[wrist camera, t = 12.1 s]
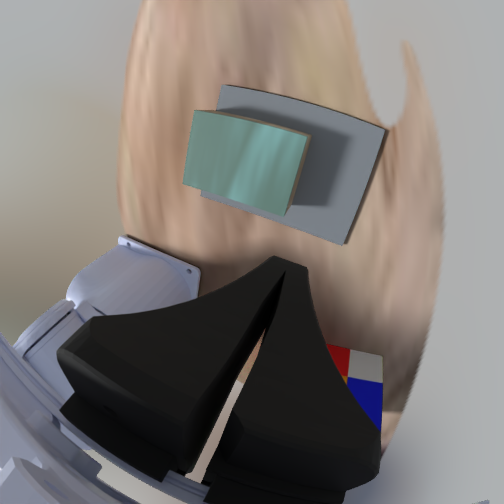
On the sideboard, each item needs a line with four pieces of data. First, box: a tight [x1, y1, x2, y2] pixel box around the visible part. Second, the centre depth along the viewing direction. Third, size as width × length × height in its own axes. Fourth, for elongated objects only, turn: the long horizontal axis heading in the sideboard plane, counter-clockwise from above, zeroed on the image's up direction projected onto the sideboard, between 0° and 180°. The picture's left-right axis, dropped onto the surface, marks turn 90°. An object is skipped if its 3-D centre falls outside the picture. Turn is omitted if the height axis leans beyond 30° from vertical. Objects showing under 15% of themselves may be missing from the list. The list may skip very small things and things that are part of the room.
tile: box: [183, 110, 312, 217], centre depth 17 cm, size 2×5×7 cm
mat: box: [201, 85, 385, 246], centre depth 17 cm, size 11×8×1 cm
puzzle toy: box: [326, 344, 383, 432], centre depth 21 cm, size 10×10×10 cm
